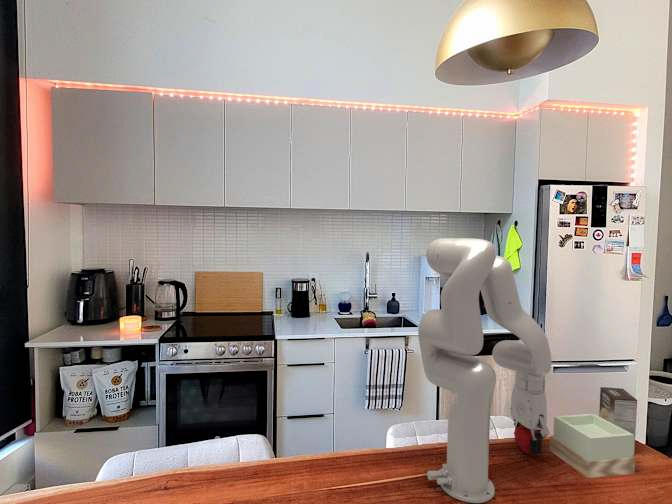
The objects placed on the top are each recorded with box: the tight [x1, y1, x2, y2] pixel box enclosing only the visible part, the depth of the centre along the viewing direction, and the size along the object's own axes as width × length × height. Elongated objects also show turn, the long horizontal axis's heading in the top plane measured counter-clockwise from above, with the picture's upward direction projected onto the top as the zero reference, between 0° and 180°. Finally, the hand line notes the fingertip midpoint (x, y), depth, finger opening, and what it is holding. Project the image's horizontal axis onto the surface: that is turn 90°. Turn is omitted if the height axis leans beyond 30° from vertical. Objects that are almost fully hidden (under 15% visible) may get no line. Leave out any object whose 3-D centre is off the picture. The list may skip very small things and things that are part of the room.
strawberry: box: [513, 424, 538, 455], centre depth 114 cm, size 6×8×10 cm
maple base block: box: [548, 435, 636, 479], centre depth 111 cm, size 14×14×4 cm
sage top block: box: [552, 413, 634, 462], centre depth 111 cm, size 13×13×6 cm
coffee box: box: [598, 386, 638, 456], centre depth 119 cm, size 9×6×16 cm
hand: (527, 446), depth 114 cm, fingers closed on strawberry, 6 cm apart
